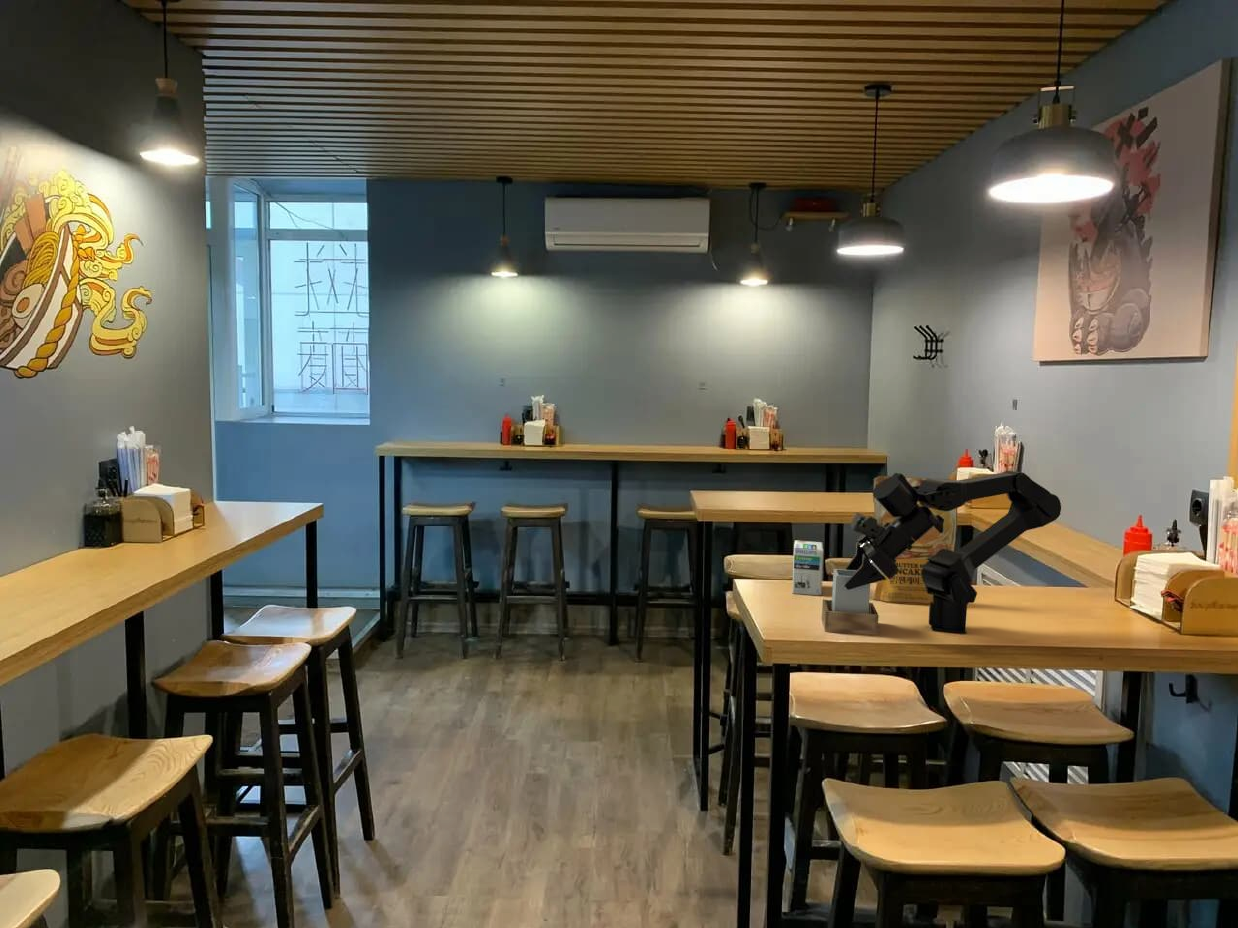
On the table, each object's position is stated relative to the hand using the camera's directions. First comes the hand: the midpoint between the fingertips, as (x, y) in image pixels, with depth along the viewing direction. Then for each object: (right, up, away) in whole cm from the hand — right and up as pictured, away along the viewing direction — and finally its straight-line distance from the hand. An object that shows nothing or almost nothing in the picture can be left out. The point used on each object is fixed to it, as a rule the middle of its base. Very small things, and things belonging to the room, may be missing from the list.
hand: (844, 582), depth 178 cm
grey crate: (+1, -8, +1) cm, 8 cm away
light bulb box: (-1, -6, +31) cm, 32 cm away
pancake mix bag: (+21, -8, +24) cm, 32 cm away
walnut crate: (+1, -9, +1) cm, 9 cm away
